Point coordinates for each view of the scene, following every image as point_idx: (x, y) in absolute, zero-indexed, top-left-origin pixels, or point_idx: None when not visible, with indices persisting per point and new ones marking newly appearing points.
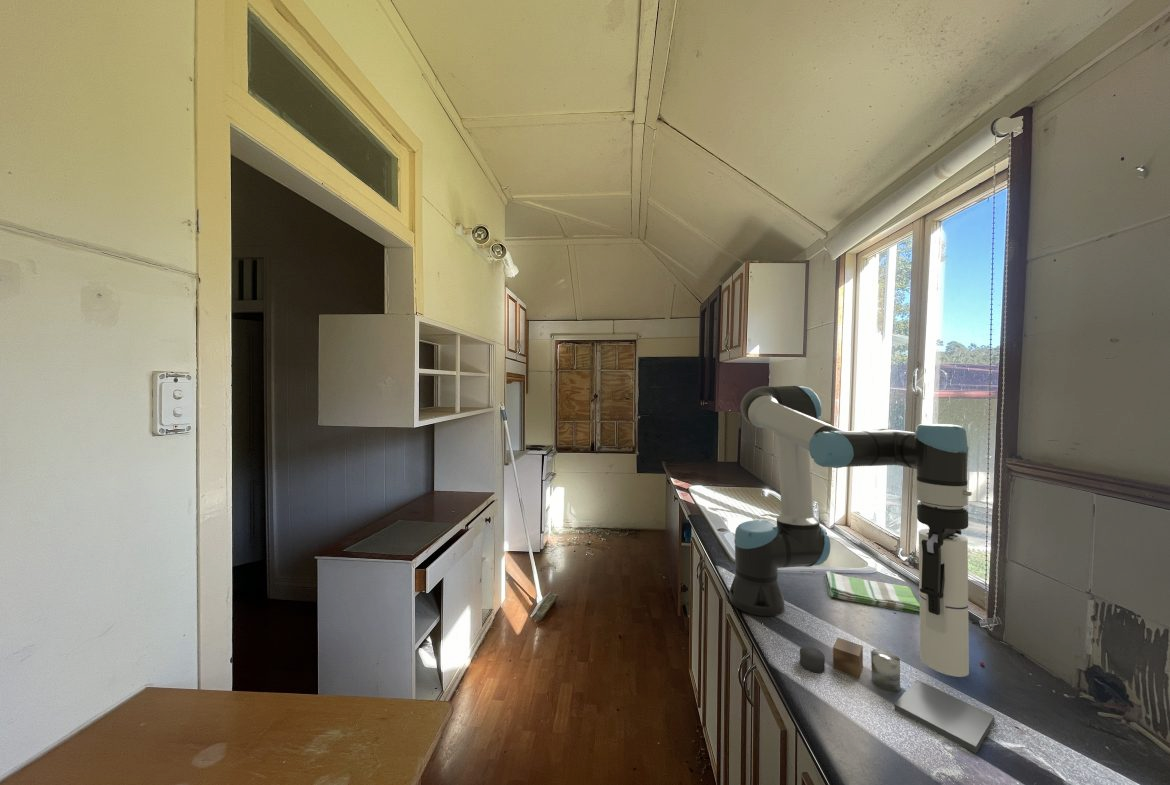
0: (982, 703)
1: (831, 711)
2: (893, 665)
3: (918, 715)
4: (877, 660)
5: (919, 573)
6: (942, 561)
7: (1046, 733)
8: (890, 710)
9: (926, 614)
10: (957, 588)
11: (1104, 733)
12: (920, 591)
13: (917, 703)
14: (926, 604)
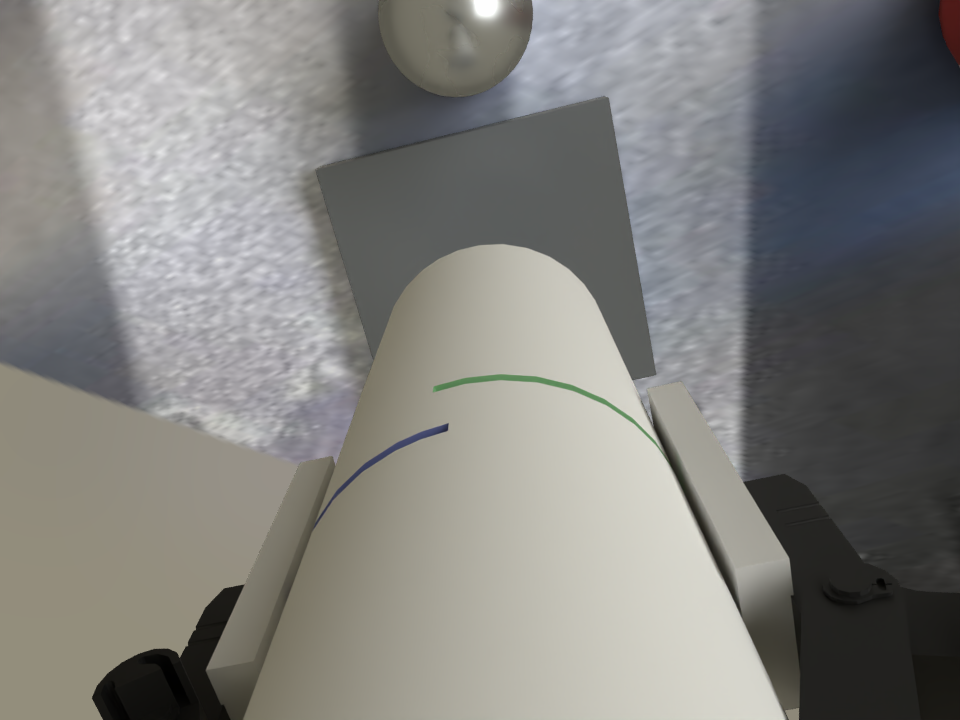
0: (740, 289)
1: (19, 55)
2: (426, 90)
3: (349, 257)
4: (378, 16)
5: (314, 645)
6: None
7: (756, 461)
8: (301, 160)
9: (273, 521)
10: None
11: (943, 531)
12: (124, 663)
13: (422, 210)
14: (247, 580)
